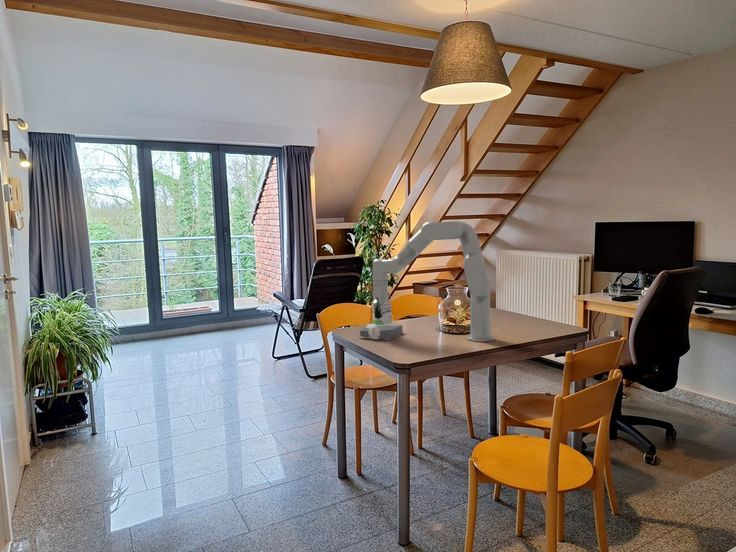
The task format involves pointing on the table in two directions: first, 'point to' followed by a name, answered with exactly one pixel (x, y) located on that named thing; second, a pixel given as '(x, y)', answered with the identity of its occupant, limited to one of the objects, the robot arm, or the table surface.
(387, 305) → the ink box
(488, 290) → the robot arm
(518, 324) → the table surface
